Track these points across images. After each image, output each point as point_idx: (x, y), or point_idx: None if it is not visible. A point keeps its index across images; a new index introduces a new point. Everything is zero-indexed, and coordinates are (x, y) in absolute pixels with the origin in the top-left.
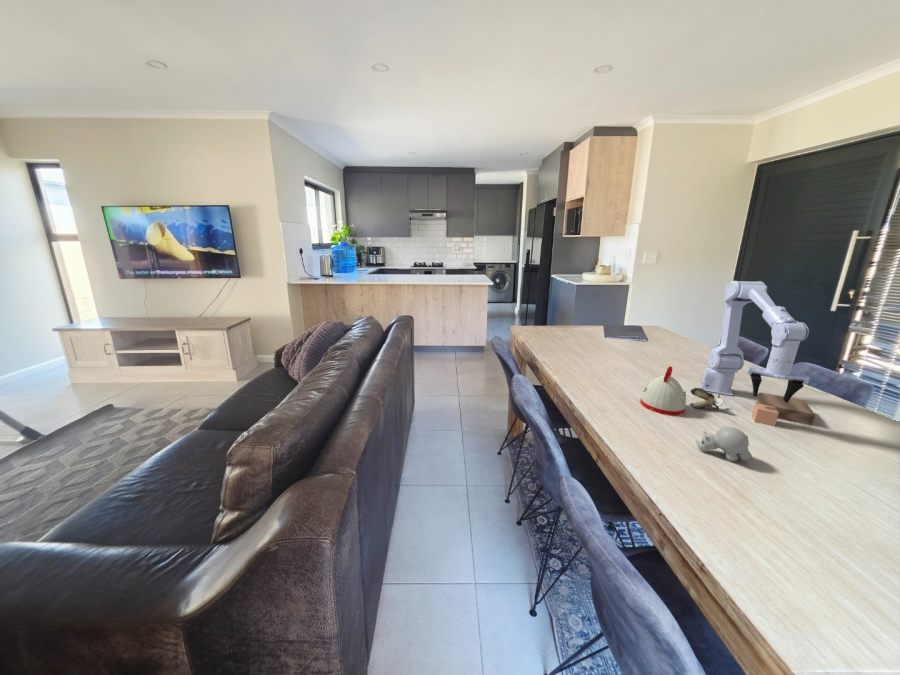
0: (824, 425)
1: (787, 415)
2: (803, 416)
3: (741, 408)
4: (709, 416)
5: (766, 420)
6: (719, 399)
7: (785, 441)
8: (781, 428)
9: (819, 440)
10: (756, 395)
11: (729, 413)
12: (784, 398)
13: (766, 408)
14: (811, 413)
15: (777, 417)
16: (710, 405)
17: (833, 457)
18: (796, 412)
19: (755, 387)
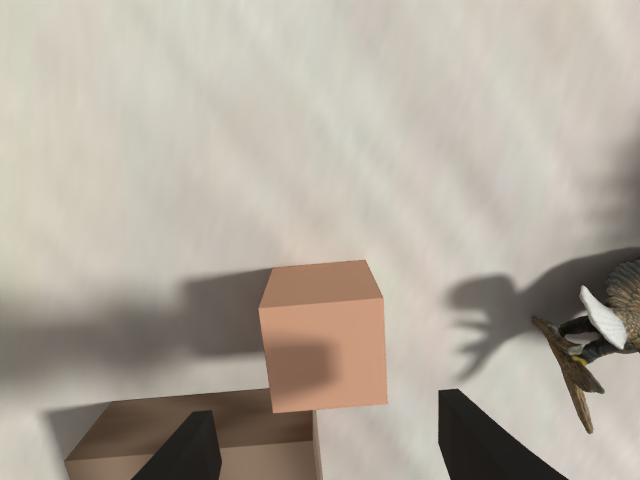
0: (64, 439)
1: None
2: (131, 432)
3: (408, 411)
4: (603, 173)
5: (315, 273)
6: (613, 334)
7: (232, 76)
8: (241, 264)
9: (79, 225)
10: (448, 397)
11: (479, 300)
12: (212, 465)
13: (328, 346)
14: (83, 465)
15: (252, 394)
16: (619, 282)
17: (13, 15)
18: (159, 444)
19: (544, 471)
